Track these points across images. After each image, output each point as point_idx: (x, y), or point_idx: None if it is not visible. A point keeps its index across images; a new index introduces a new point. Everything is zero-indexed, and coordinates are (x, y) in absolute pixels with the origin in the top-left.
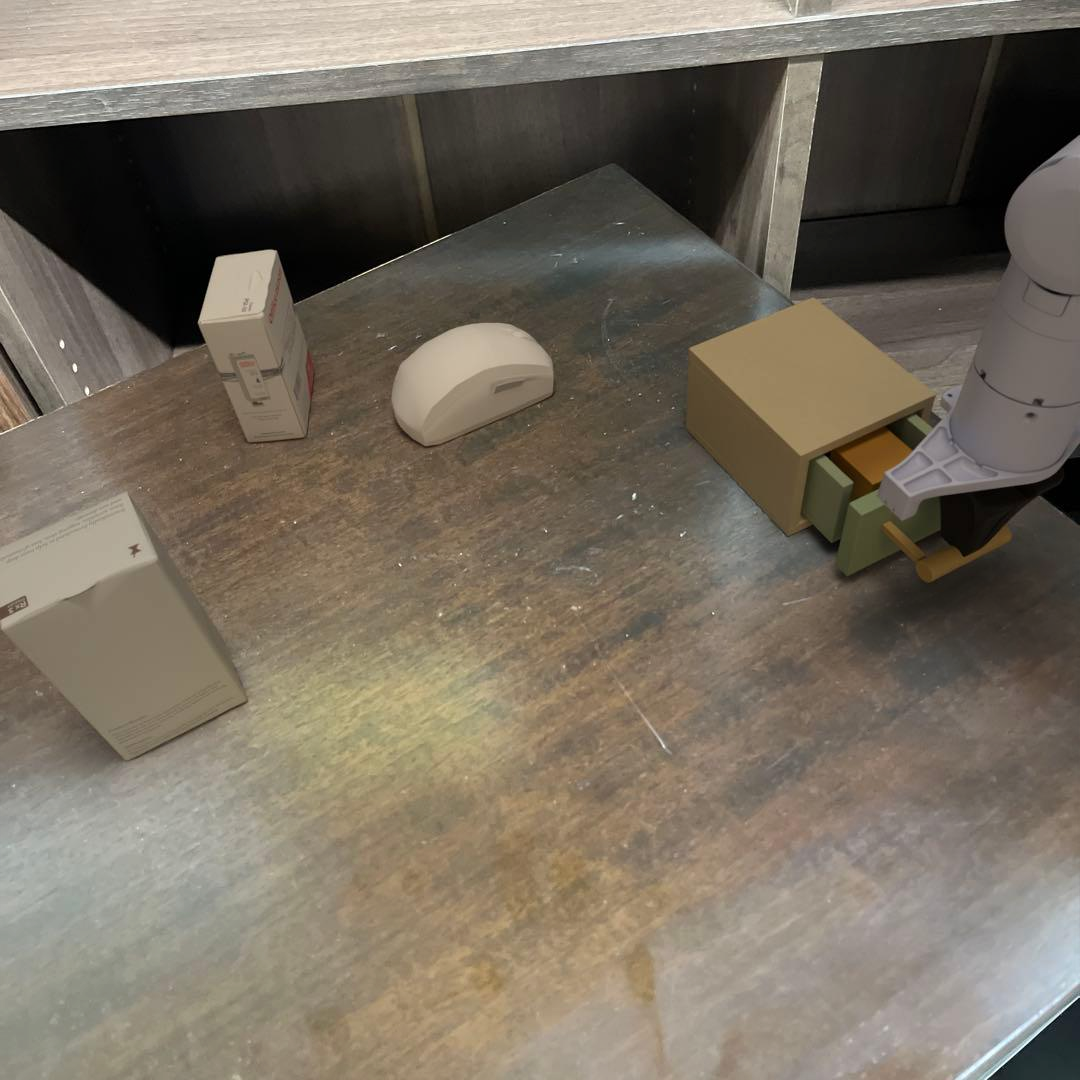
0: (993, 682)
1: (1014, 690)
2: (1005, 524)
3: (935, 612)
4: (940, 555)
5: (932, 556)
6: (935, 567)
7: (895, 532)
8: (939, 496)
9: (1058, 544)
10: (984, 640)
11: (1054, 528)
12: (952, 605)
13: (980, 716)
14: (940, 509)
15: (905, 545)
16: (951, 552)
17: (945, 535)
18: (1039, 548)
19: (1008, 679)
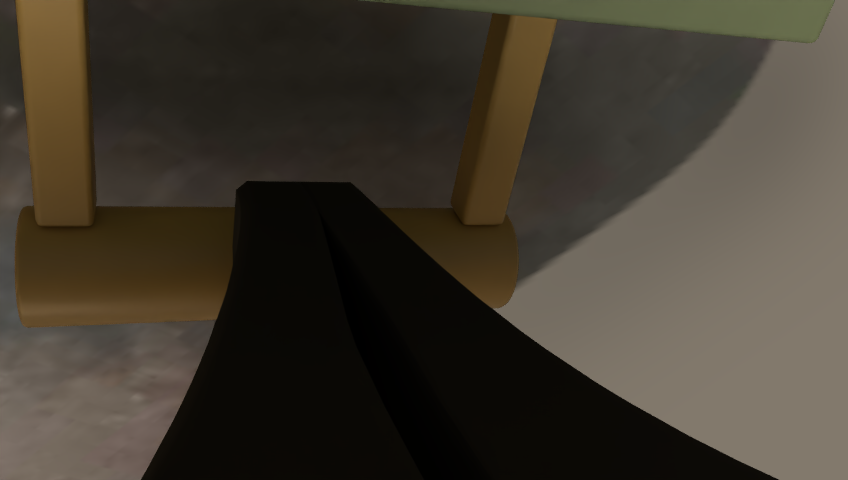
0: (132, 379)
1: (164, 412)
2: (512, 288)
3: (166, 134)
4: (127, 292)
5: (90, 272)
6: (56, 322)
7: (40, 20)
8: (202, 361)
9: (675, 142)
10: None
11: (726, 94)
12: (240, 142)
13: (16, 435)
14: (231, 276)
15: (29, 124)
16: (192, 298)
17: (237, 231)
18: (630, 124)
19: (176, 386)
